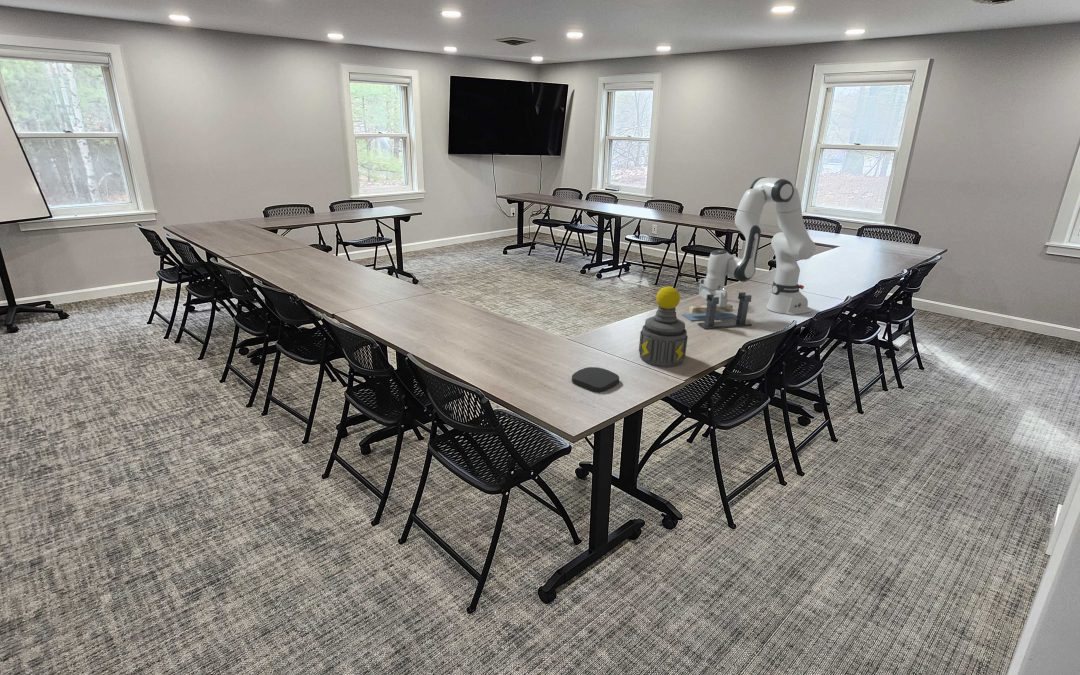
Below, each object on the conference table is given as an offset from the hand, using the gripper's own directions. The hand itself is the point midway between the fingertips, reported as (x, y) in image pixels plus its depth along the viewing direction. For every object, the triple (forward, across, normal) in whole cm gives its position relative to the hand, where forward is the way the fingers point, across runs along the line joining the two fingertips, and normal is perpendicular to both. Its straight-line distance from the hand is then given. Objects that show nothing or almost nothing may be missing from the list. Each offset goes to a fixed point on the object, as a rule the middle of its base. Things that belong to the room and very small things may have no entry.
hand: (710, 310), depth 278 cm
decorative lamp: (+3, -43, +48) cm, 65 cm away
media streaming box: (+4, -58, +82) cm, 100 cm away
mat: (+3, 0, 0) cm, 3 cm away
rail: (+1, 0, 0) cm, 1 cm away
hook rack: (+3, -13, 0) cm, 13 cm away
